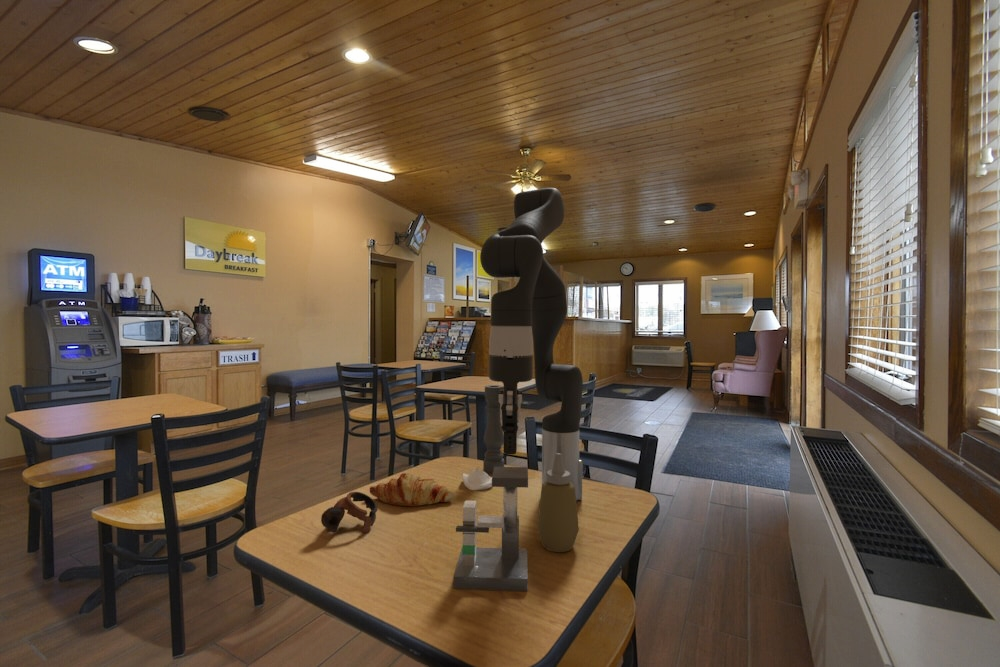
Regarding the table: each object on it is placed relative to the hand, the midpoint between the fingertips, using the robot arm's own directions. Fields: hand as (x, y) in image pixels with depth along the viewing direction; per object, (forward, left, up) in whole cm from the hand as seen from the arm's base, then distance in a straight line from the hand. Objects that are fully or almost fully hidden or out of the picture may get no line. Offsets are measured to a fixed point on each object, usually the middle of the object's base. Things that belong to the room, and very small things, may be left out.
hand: (510, 453), depth 79 cm
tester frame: (+3, -1, -21) cm, 21 cm away
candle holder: (-13, -55, -21) cm, 60 cm away
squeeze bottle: (-12, -7, -21) cm, 25 cm away
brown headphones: (+27, -26, -21) cm, 43 cm away
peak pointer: (+7, 0, -13) cm, 14 cm away
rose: (-6, -45, -22) cm, 50 cm away
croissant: (+13, -38, -21) cm, 46 cm away
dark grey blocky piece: (+1, 0, -13) cm, 13 cm away
